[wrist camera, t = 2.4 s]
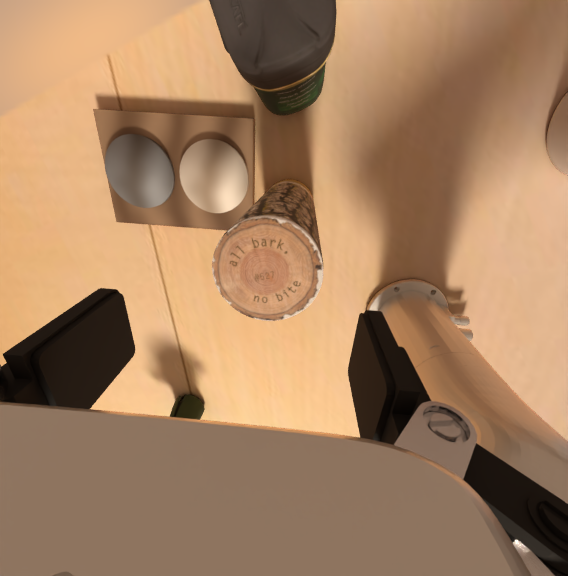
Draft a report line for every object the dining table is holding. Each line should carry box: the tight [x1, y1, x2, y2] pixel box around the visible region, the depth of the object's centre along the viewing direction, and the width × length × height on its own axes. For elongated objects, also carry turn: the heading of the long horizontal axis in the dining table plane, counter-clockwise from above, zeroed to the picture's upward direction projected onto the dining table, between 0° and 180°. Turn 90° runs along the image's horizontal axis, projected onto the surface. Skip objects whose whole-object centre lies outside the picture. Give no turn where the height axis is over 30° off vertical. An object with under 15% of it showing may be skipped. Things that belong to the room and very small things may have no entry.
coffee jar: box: [209, 0, 336, 115], centre depth 24 cm, size 10×8×19 cm
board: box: [93, 109, 255, 230], centre depth 37 cm, size 20×14×2 cm
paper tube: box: [212, 179, 323, 321], centre depth 28 cm, size 7×7×25 cm
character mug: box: [170, 395, 204, 420], centre depth 53 cm, size 11×7×13 cm, turn 109°
